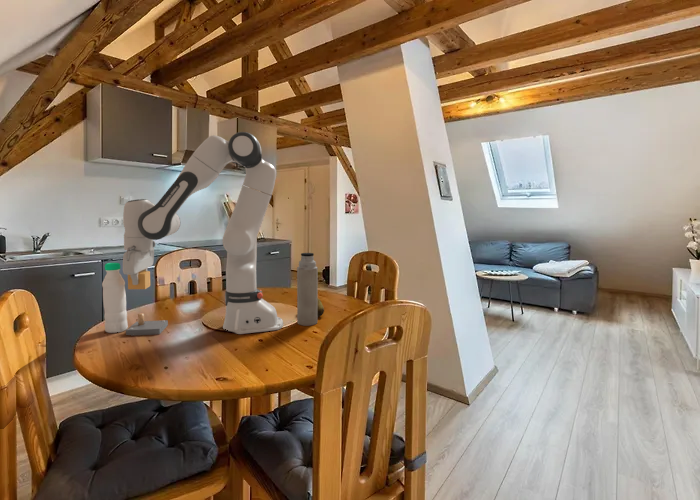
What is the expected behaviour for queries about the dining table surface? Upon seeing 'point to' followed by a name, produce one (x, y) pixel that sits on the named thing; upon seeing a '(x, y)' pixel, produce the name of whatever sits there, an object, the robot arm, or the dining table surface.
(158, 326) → the plate
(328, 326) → the dining table surface
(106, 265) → the white milk bottle
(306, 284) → the thermos bottle
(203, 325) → the dining table surface
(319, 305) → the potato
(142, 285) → the wooden cube
